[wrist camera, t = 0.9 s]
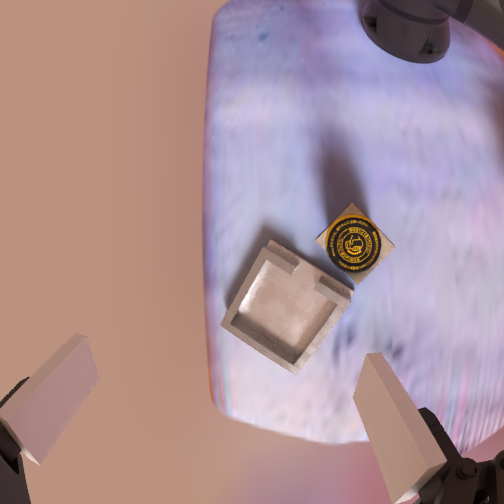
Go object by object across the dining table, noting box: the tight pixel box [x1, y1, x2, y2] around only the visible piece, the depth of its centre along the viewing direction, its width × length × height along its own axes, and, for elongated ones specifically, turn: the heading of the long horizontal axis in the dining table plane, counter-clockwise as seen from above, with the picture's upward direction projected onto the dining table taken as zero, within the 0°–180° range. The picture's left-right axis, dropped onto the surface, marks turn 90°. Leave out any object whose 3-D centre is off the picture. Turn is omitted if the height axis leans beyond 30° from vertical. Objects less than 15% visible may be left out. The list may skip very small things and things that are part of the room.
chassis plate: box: [220, 240, 355, 375], centre depth 37 cm, size 15×14×4 cm
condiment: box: [315, 203, 395, 285], centre depth 29 cm, size 7×8×12 cm
